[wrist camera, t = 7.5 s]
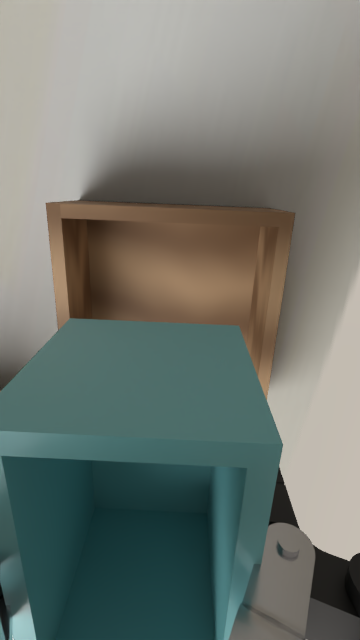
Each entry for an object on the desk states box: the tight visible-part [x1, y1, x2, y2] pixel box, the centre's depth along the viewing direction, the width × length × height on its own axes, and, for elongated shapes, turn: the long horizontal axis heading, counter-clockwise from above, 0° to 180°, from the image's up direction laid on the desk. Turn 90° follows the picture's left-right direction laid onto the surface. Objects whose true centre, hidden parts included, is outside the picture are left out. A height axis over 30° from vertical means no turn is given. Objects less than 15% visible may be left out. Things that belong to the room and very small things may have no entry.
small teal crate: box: [0, 318, 283, 640], centre depth 11 cm, size 9×6×6 cm, turn 178°
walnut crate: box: [46, 200, 295, 400], centre depth 25 cm, size 16×14×6 cm
